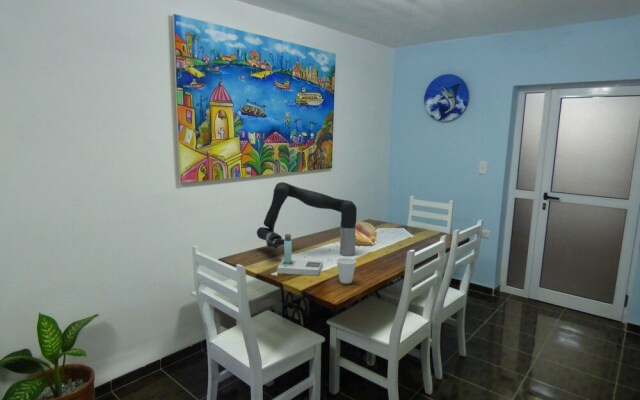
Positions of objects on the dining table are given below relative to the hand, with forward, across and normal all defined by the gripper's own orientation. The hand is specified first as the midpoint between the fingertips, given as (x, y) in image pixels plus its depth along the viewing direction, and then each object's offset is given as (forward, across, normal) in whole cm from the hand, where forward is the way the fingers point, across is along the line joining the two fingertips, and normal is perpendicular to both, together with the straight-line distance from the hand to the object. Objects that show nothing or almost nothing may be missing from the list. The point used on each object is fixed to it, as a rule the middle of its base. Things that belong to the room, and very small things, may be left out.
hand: (283, 246), depth 210 cm
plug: (+7, 0, +11) cm, 13 cm away
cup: (+37, +19, +11) cm, 43 cm away
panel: (+11, +6, +11) cm, 16 cm away
